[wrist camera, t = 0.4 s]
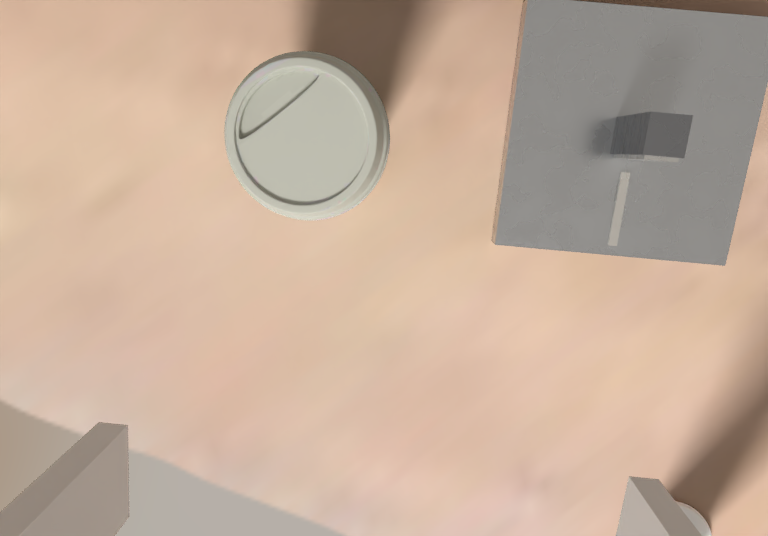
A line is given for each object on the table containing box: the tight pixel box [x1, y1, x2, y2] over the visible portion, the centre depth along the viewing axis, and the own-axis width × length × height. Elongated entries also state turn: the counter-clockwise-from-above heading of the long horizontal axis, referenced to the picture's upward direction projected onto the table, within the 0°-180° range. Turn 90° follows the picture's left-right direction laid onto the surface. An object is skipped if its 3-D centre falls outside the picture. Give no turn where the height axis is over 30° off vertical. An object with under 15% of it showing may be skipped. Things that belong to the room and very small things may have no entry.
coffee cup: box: [225, 51, 390, 220], centre depth 32 cm, size 8×8×12 cm
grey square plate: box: [492, 0, 768, 266], centre depth 34 cm, size 16×16×6 cm
